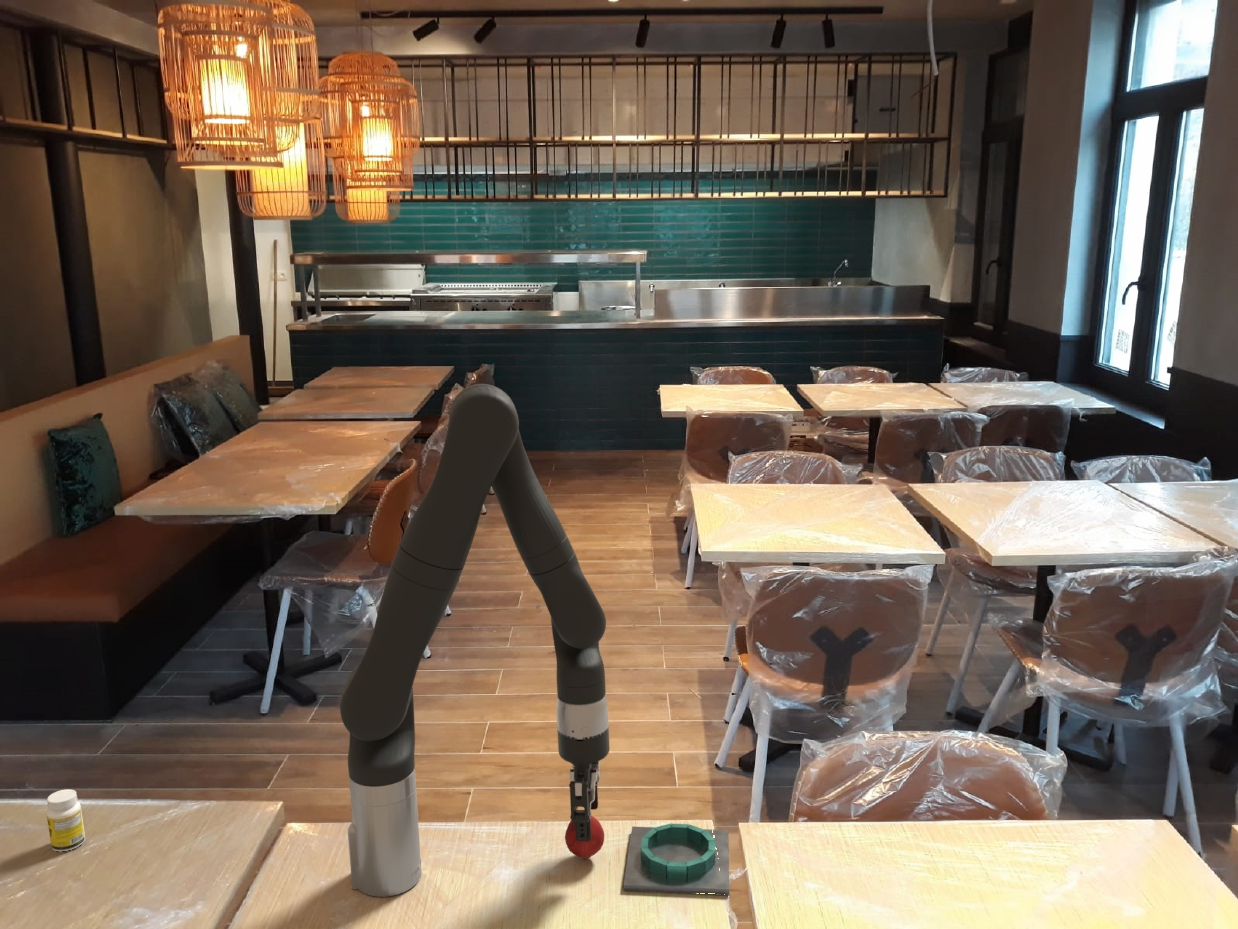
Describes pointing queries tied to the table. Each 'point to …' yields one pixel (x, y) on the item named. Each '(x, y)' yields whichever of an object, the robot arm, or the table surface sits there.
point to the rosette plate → (678, 860)
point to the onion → (585, 848)
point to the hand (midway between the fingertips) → (587, 824)
